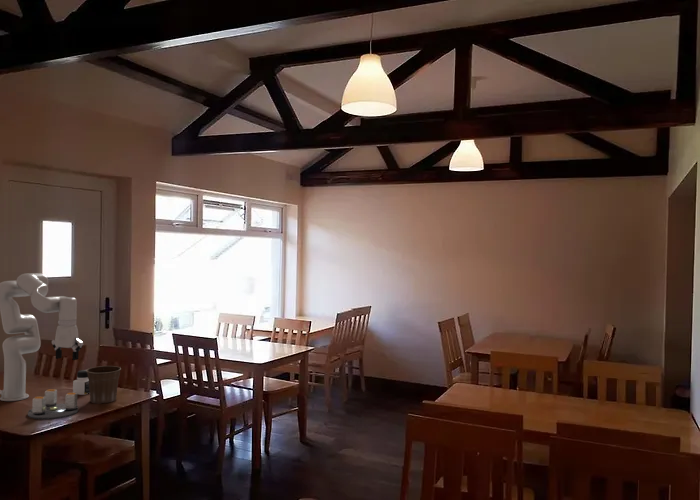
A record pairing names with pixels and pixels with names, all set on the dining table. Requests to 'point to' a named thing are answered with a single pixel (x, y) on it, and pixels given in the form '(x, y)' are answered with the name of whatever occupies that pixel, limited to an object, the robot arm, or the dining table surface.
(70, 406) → the white short cylinder
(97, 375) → the plant pot
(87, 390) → the medicine bottle
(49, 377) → the dining table surface
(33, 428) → the dining table surface
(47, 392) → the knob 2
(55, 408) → the grey round tray
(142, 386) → the dining table surface
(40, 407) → the knob
